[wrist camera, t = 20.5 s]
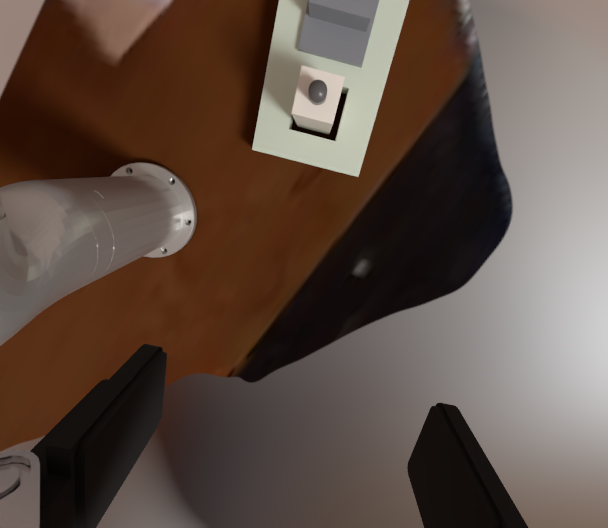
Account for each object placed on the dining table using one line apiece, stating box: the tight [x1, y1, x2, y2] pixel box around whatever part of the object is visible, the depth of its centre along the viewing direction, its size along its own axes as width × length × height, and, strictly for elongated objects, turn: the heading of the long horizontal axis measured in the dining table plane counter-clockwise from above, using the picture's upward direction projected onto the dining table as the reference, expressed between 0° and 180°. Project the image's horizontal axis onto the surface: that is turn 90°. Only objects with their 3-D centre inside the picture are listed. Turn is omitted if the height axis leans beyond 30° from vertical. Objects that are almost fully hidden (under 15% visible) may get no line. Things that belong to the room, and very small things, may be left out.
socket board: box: [252, 0, 409, 177], centre depth 35 cm, size 13×20×3 cm, turn 166°
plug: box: [292, 65, 345, 135], centre depth 32 cm, size 4×4×12 cm
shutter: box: [298, 0, 379, 68], centre depth 30 cm, size 7×7×4 cm
